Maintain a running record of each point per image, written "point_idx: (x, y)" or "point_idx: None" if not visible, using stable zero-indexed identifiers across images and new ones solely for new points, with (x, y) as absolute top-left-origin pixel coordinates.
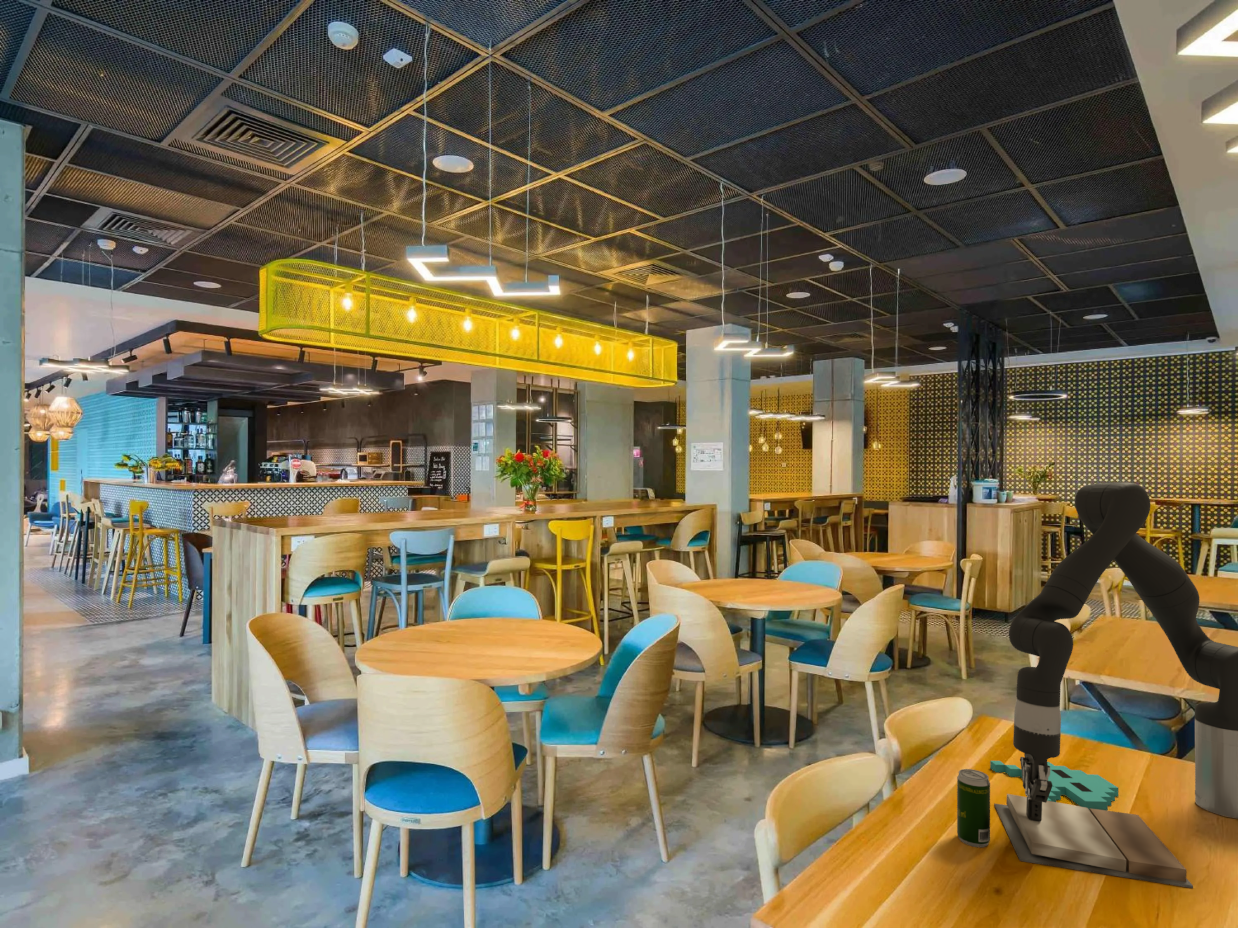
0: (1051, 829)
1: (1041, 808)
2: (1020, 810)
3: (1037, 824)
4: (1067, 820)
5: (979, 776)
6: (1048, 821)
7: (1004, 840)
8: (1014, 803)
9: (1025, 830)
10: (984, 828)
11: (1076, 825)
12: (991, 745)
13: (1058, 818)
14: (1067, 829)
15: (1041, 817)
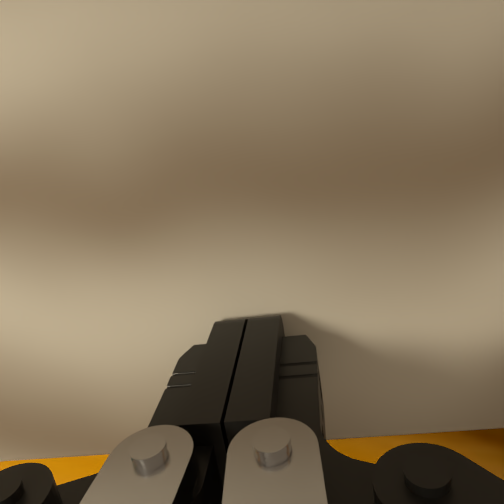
0: (388, 248)
1: (273, 373)
2: (149, 419)
3: (347, 339)
4: (100, 93)
5: None
6: (232, 253)
7: (414, 440)
8: (49, 442)
9: (488, 420)
10: None
11: (160, 20)
12: None
13: (110, 167)
14: (312, 116)
15: (280, 326)
